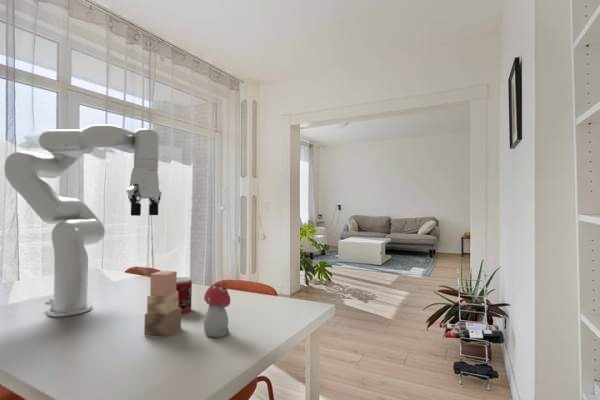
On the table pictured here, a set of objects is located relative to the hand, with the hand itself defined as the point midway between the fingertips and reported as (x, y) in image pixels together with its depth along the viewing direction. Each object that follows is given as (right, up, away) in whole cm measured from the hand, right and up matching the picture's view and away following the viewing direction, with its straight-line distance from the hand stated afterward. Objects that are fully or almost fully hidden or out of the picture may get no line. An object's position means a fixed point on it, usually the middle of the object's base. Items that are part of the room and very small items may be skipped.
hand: (145, 215), depth 109 cm
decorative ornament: (+30, -33, -19) cm, 48 cm away
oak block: (+14, -27, -17) cm, 35 cm away
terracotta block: (+14, -22, -17) cm, 31 cm away
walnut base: (+14, -33, -17) cm, 40 cm away
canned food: (+11, -34, +1) cm, 35 cm away
